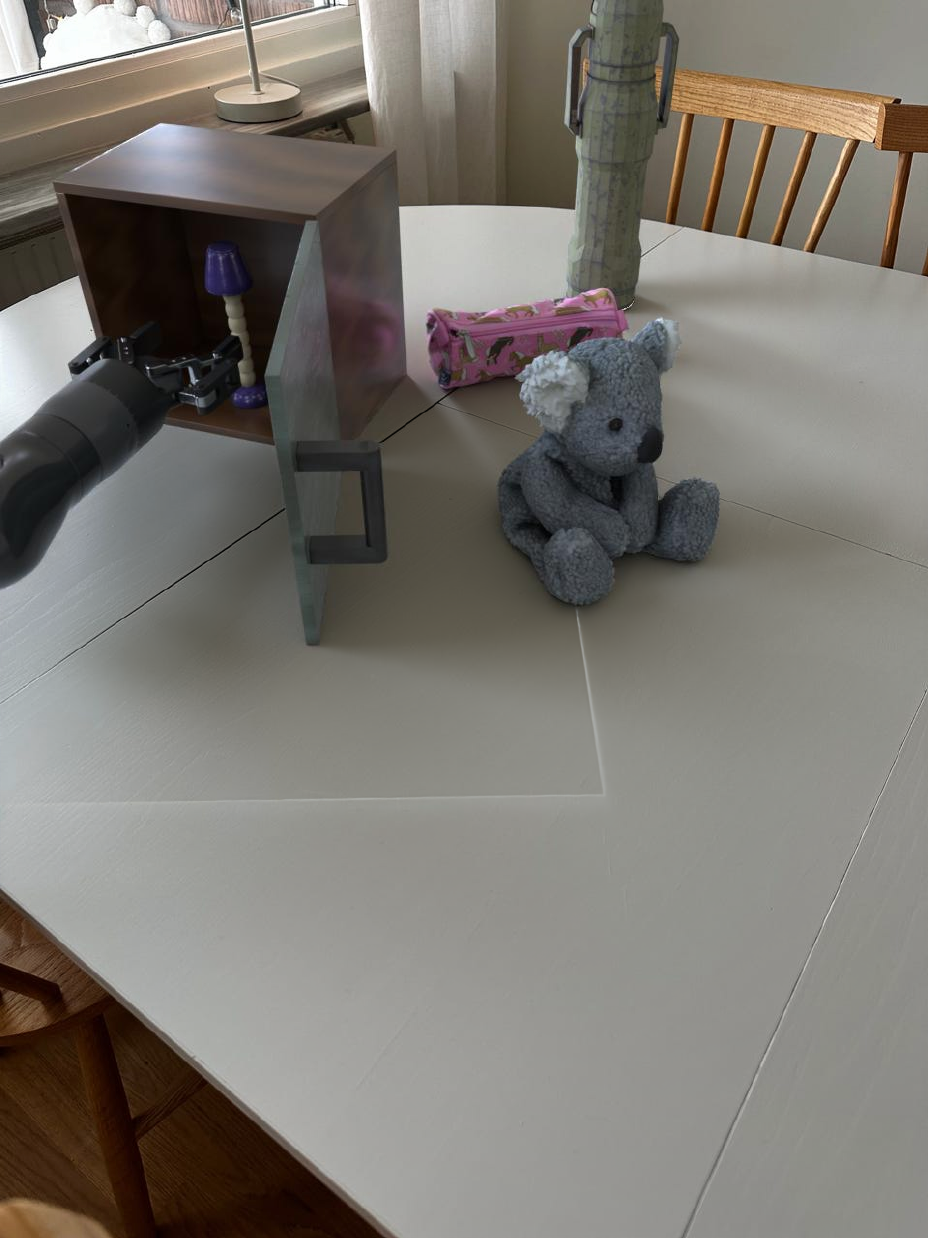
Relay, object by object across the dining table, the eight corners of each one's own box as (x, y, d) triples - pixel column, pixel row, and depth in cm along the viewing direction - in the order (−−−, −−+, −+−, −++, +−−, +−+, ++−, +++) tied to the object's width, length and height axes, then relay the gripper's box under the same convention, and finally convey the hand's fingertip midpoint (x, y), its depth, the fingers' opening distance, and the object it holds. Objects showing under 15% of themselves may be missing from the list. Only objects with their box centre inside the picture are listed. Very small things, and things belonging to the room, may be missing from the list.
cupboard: (341, 459, 97) (315, 215, 81) (117, 415, 104) (51, 180, 87) (407, 375, 110) (396, 148, 94) (203, 340, 116) (160, 122, 100)
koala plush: (568, 626, 79) (588, 415, 66) (452, 514, 91) (449, 314, 77) (726, 554, 86) (773, 350, 73) (600, 459, 97) (621, 266, 84)
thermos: (543, 290, 126) (560, -32, 102) (627, 279, 128) (663, -38, 105) (568, 320, 120) (593, -16, 96) (657, 307, 122) (701, -23, 99)
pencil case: (441, 407, 105) (439, 329, 99) (421, 366, 111) (419, 291, 105) (628, 381, 109) (637, 305, 103) (598, 343, 115) (605, 269, 109)
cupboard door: (401, 461, 97) (388, 219, 81) (391, 644, 78) (371, 374, 62) (332, 462, 97) (305, 220, 81) (306, 645, 78) (264, 375, 62)
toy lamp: (272, 410, 102) (247, 252, 91) (226, 413, 102) (196, 256, 91) (271, 387, 106) (247, 233, 95) (227, 390, 105) (199, 236, 94)
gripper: (162, 397, 76) (259, 310, 88) (9, 369, 80) (122, 288, 91) (181, 477, 81) (270, 385, 93) (37, 447, 85) (140, 362, 96)
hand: (197, 337), depth 92 cm, fingers open, 8 cm apart
